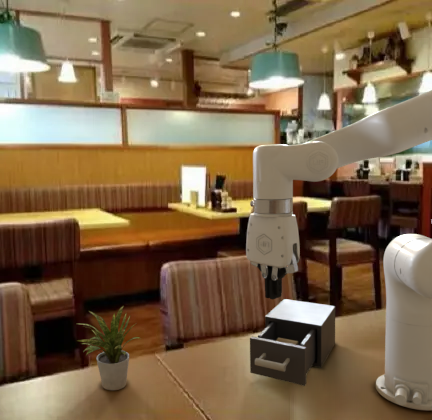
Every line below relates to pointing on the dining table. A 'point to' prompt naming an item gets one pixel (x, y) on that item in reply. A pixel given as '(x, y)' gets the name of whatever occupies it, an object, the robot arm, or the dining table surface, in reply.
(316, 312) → the drawer cabinet
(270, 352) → the pull-out drawer
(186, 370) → the dining table surface
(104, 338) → the house plant
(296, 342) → the cube
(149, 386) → the dining table surface
